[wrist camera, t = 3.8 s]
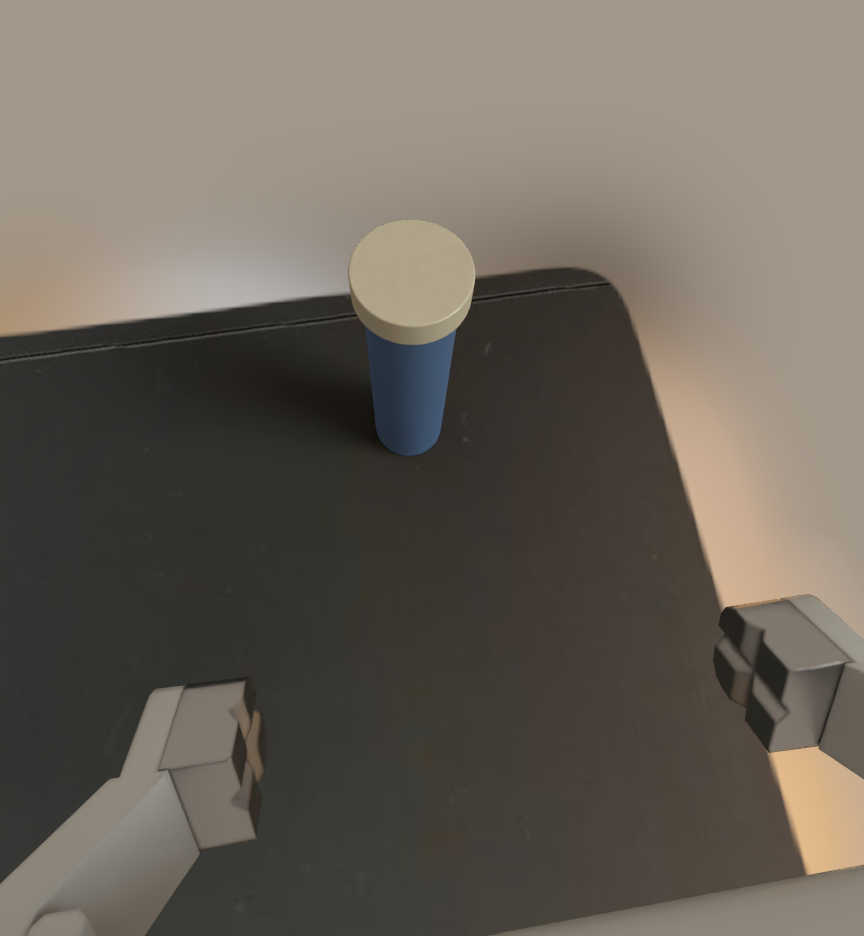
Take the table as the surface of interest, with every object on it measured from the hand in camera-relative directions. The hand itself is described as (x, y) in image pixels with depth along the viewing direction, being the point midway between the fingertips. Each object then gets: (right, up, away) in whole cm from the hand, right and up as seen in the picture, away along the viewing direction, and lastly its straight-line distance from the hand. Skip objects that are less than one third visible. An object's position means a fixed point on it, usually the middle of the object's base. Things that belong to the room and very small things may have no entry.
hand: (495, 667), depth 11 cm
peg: (-2, +5, +16) cm, 17 cm away
